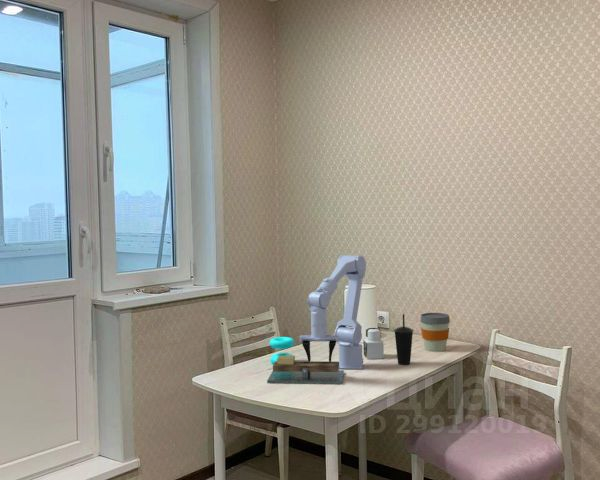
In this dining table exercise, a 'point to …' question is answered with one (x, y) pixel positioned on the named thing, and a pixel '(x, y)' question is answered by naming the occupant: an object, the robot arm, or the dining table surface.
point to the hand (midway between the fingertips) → (319, 360)
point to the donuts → (281, 346)
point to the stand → (306, 377)
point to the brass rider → (286, 360)
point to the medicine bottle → (373, 344)
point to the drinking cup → (403, 344)
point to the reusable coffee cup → (435, 331)
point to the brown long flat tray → (308, 366)
